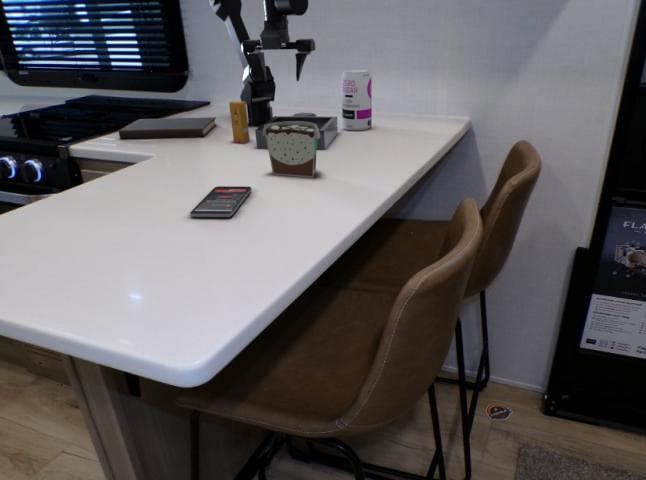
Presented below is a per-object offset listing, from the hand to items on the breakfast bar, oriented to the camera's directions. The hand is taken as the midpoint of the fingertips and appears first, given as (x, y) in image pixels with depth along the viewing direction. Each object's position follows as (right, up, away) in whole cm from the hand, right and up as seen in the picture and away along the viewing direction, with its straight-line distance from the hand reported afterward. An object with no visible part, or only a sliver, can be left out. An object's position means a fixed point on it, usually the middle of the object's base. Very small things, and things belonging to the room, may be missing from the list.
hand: (281, 81), depth 142 cm
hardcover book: (-33, -11, +8) cm, 36 cm away
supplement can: (+21, -11, +7) cm, 24 cm away
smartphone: (-4, -42, -46) cm, 63 cm away
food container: (+8, -32, -30) cm, 44 cm away
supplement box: (-10, -18, -4) cm, 21 cm away
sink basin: (+5, -18, -5) cm, 19 cm away
